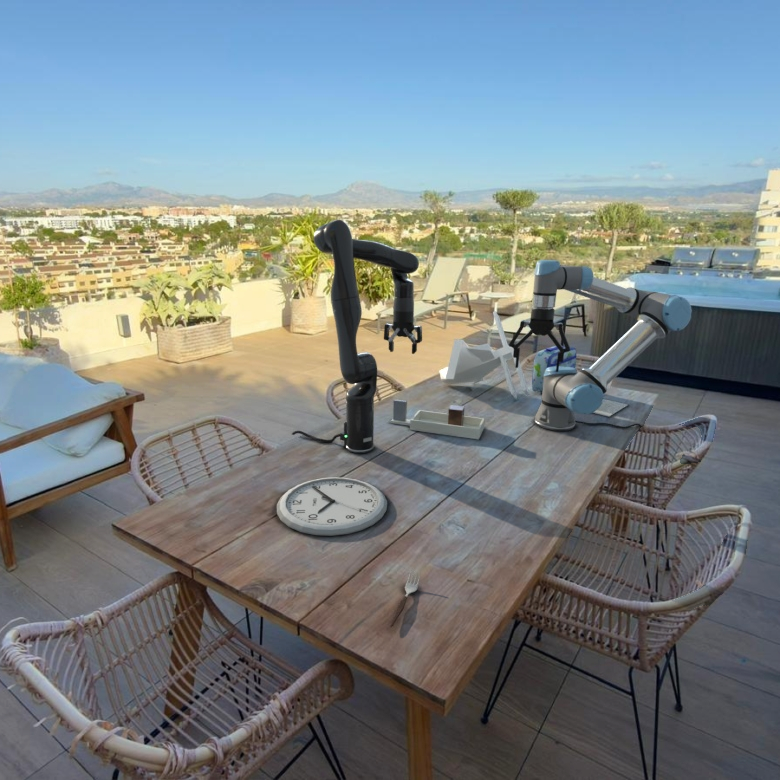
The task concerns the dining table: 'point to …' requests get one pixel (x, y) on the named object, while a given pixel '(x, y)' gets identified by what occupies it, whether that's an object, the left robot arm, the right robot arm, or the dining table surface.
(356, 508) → the wall clock
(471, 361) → the white plastic object
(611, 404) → the invitation card
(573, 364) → the lunch box
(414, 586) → the fork
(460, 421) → the walnut block
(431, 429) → the tray
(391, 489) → the dining table surface
